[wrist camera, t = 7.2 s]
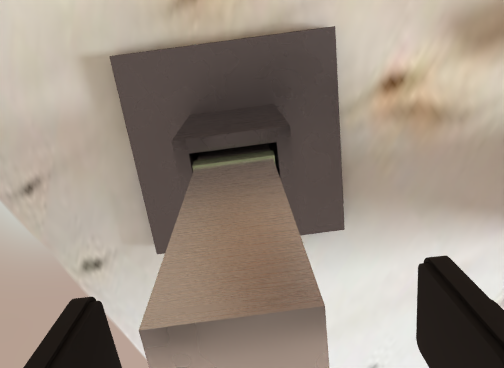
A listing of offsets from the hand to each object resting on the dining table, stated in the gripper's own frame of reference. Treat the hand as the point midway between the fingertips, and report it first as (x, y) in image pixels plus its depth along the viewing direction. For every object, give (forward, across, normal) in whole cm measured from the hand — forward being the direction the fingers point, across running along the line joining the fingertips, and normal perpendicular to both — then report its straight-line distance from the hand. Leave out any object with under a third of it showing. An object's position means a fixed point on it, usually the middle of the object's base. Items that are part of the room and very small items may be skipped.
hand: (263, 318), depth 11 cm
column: (+14, +1, 0) cm, 14 cm away
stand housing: (+21, +1, 0) cm, 21 cm away
